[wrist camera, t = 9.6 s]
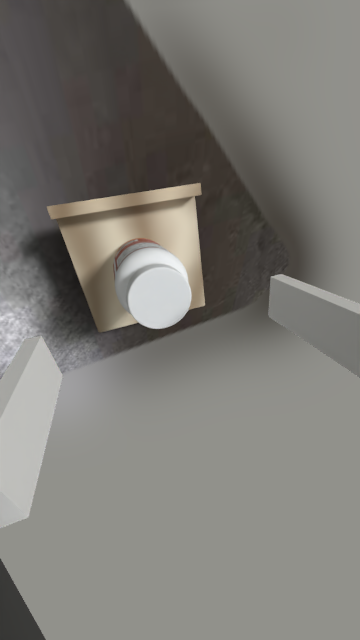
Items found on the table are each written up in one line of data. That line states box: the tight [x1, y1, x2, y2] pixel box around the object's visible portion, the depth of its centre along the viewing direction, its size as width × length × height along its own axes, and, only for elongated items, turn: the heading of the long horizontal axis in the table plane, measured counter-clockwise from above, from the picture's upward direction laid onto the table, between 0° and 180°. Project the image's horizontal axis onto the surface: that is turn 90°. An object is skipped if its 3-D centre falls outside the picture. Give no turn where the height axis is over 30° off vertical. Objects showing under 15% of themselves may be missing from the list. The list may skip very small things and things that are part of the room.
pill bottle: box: [113, 238, 191, 329], centre depth 21 cm, size 6×6×11 cm
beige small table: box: [47, 183, 205, 333], centre depth 27 cm, size 14×14×8 cm
